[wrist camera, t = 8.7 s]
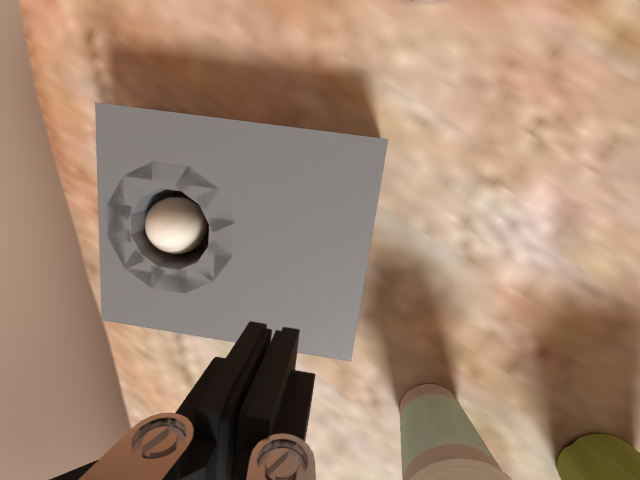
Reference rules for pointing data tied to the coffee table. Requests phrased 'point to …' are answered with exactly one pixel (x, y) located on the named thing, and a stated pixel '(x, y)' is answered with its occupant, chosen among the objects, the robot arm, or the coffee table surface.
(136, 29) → the coffee table surface
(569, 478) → the plant pot
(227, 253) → the grey flat block
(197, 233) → the ball
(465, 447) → the coffee cup
